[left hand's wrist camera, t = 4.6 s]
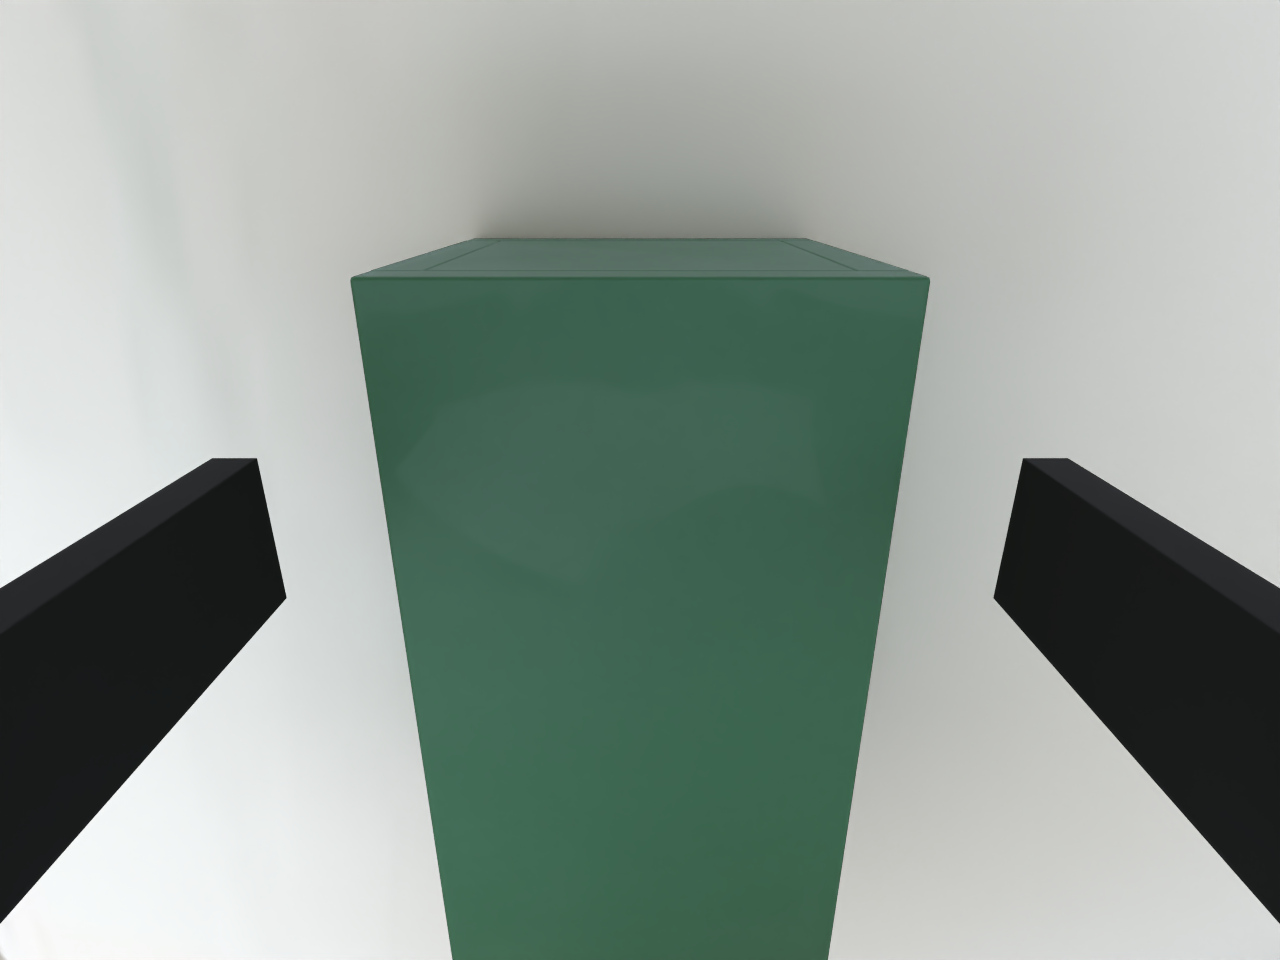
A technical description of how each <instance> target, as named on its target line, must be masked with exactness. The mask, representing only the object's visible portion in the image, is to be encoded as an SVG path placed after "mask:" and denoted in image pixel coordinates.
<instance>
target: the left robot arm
mask: <svg viewBox="0 0 1280 960" xmlns="http://www.w3.org/2000/svg"><path fill="white" fill-rule="evenodd" d="M285 599H286V593H285V588H284V584H283V579H282V574H281V570H280V565H279V560H278V555H277V551H276V546H275V541H274V537H273V532H272V527H271V522H270V518H269V513H268V508H267V504H266V499H265V494H264V490H263V485H262V480H261V475H260V471H259V466H258V461H257V458H212V459H210V460H209V461H207V462H205V463H204V464H202V465H201V466H199V467H197V468H196V469H194V470H192V471H191V472H189V473H188V474H186V475H184V476H183V477H181V478H179V479H178V480H176V481H174V482H173V483H171V484H170V485H168V486H166V487H165V488H163V489H161V490H160V491H158V492H157V493H155V494H153V495H152V496H150V497H148V498H147V499H145V500H144V501H142V502H140V503H139V504H137V505H135V506H134V507H132V508H130V509H129V510H127V511H126V512H124V513H122V514H121V515H119V516H117V517H116V518H114V519H113V520H111V521H109V522H108V523H106V524H104V525H103V526H101V527H100V528H98V529H96V530H95V531H93V532H91V533H90V534H88V535H86V536H85V537H83V538H82V539H80V540H78V541H77V542H75V543H73V544H72V545H70V546H69V547H67V548H65V549H64V550H62V551H60V552H59V553H57V554H56V555H54V556H52V557H51V558H49V559H47V560H46V561H44V562H42V563H41V564H39V565H38V566H36V567H34V568H33V569H31V570H29V571H28V572H26V573H25V574H23V575H21V576H20V577H18V578H16V579H15V580H13V581H12V582H10V583H8V584H7V585H5V586H3V587H2V588H0V923H1V922H2V921H3V920H4V919H5V918H6V917H7V915H8V914H9V913H10V912H11V911H12V910H13V909H14V907H15V906H16V905H17V904H18V903H19V902H20V901H21V899H22V898H23V897H24V896H25V895H26V894H27V893H28V891H29V890H30V889H31V888H32V887H33V886H34V885H35V884H36V882H37V881H38V880H39V879H40V878H41V877H42V876H43V874H44V873H45V872H46V871H47V870H48V869H49V868H50V866H51V865H52V864H53V863H54V862H55V861H56V860H57V858H58V857H59V856H60V855H61V854H62V853H63V852H64V851H65V849H66V848H67V847H68V846H69V845H70V844H71V843H72V841H73V840H74V839H75V838H76V837H77V836H78V835H79V833H80V832H81V831H82V830H83V829H84V828H85V827H86V826H87V824H88V823H89V822H90V821H91V820H92V819H93V818H94V816H95V815H96V814H97V813H98V812H99V811H100V810H101V808H102V807H103V806H104V805H105V804H106V803H107V802H108V800H109V799H110V798H111V797H112V796H113V795H114V794H115V793H116V791H117V790H118V789H119V788H120V787H121V786H122V785H123V783H124V782H125V781H126V780H127V779H128V778H129V777H130V775H131V774H132V773H133V772H134V771H135V770H136V769H137V767H138V766H139V765H140V764H141V763H142V762H143V761H144V760H145V758H146V757H147V756H148V755H149V754H150V753H151V752H152V750H153V749H154V748H155V747H156V746H157V745H158V744H159V742H160V741H161V740H162V739H163V738H164V737H165V736H166V734H167V733H168V732H169V731H170V730H171V729H172V728H173V727H174V725H175V724H176V723H177V722H178V721H179V720H180V719H181V717H182V716H183V715H184V714H185V713H186V712H187V711H188V709H189V708H190V707H191V706H192V705H193V704H194V703H195V702H196V700H197V699H198V698H199V697H200V696H201V695H202V694H203V692H204V691H205V690H206V689H207V688H208V687H209V686H210V684H211V683H212V682H213V681H214V680H215V679H216V678H217V676H218V675H219V674H220V673H221V672H222V671H223V670H224V669H225V667H226V666H227V665H228V664H229V663H230V662H231V661H232V659H233V658H234V657H235V656H236V655H237V654H238V653H239V651H240V650H241V649H242V648H243V647H244V646H245V645H246V643H247V642H248V641H249V640H250V639H251V638H252V637H253V636H254V634H255V633H256V632H257V631H258V630H259V629H260V628H261V626H262V625H263V624H264V623H265V622H266V621H267V620H268V618H269V617H270V616H271V615H272V614H273V613H274V612H275V611H276V609H277V608H278V607H279V606H280V605H281V604H282V603H283V601H284V600H285ZM994 599H995V600H996V601H997V603H998V604H999V605H1000V606H1001V607H1002V608H1003V609H1004V611H1005V612H1006V613H1007V614H1008V615H1009V616H1010V617H1011V618H1012V620H1013V621H1014V622H1015V623H1016V624H1017V625H1018V626H1019V628H1020V629H1021V630H1022V631H1023V632H1024V633H1025V634H1026V636H1027V637H1028V638H1029V639H1030V640H1031V641H1032V642H1033V643H1034V645H1035V646H1036V647H1037V648H1038V649H1039V650H1040V651H1041V653H1042V654H1043V655H1044V656H1045V657H1046V658H1047V659H1048V661H1049V662H1050V663H1051V664H1052V665H1053V666H1054V667H1055V669H1056V670H1057V671H1058V672H1059V673H1060V674H1061V675H1062V676H1063V678H1064V679H1065V680H1066V681H1067V682H1068V683H1069V684H1070V686H1071V687H1072V688H1073V689H1074V690H1075V691H1076V692H1077V694H1078V695H1079V696H1080V697H1081V698H1082V699H1083V700H1084V702H1085V703H1086V704H1087V705H1088V706H1089V707H1090V708H1091V709H1092V711H1093V712H1094V713H1095V714H1096V715H1097V716H1098V717H1099V719H1100V720H1101V721H1102V722H1103V723H1104V724H1105V725H1106V727H1107V728H1108V729H1109V730H1110V731H1111V732H1112V733H1113V734H1114V736H1115V737H1116V738H1117V739H1118V740H1119V741H1120V742H1121V744H1122V745H1123V746H1124V747H1125V748H1126V749H1127V750H1128V752H1129V753H1130V754H1131V755H1132V756H1133V757H1134V758H1135V760H1136V761H1137V762H1138V763H1139V764H1140V765H1141V766H1142V767H1143V769H1144V770H1145V771H1146V772H1147V773H1148V774H1149V775H1150V777H1151V778H1152V779H1153V780H1154V781H1155V782H1156V783H1157V785H1158V786H1159V787H1160V788H1161V789H1162V790H1163V791H1164V793H1165V794H1166V795H1167V796H1168V797H1169V798H1170V799H1171V800H1172V802H1173V803H1174V804H1175V805H1176V806H1177V807H1178V808H1179V810H1180V811H1181V812H1182V813H1183V814H1184V815H1185V816H1186V818H1187V819H1188V820H1189V821H1190V822H1191V823H1192V824H1193V826H1194V827H1195V828H1196V829H1197V830H1198V831H1199V832H1200V833H1201V835H1202V836H1203V837H1204V838H1205V839H1206V840H1207V841H1208V843H1209V844H1210V845H1211V846H1212V847H1213V848H1214V849H1215V851H1216V852H1217V853H1218V854H1219V855H1220V856H1221V857H1222V858H1223V860H1224V861H1225V862H1226V863H1227V864H1228V865H1229V866H1230V868H1231V869H1232V870H1233V871H1234V872H1235V873H1236V874H1237V876H1238V877H1239V878H1240V879H1241V880H1242V881H1243V882H1244V884H1245V885H1246V886H1247V887H1248V888H1249V889H1250V890H1251V891H1252V893H1253V894H1254V895H1255V896H1256V897H1257V898H1258V899H1259V901H1260V902H1261V903H1262V904H1263V905H1264V906H1265V907H1266V909H1267V910H1268V911H1269V912H1270V913H1271V914H1272V915H1273V917H1274V918H1275V919H1276V920H1277V921H1278V922H1279V923H1280V588H1278V587H1277V586H1275V585H1273V584H1272V583H1270V582H1268V581H1267V580H1265V579H1264V578H1262V577H1260V576H1259V575H1257V574H1255V573H1254V572H1252V571H1251V570H1249V569H1247V568H1246V567H1244V566H1242V565H1241V564H1239V563H1238V562H1236V561H1234V560H1233V559H1231V558H1229V557H1228V556H1226V555H1224V554H1223V553H1221V552H1220V551H1218V550H1216V549H1215V548H1213V547H1211V546H1210V545H1208V544H1207V543H1205V542H1203V541H1202V540H1200V539H1198V538H1197V537H1195V536H1194V535H1192V534H1190V533H1189V532H1187V531H1185V530H1184V529H1182V528H1180V527H1179V526H1177V525H1176V524H1174V523H1172V522H1171V521H1169V520H1167V519H1166V518H1164V517H1163V516H1161V515H1159V514H1158V513H1156V512H1154V511H1153V510H1151V509H1150V508H1148V507H1146V506H1145V505H1143V504H1141V503H1140V502H1138V501H1136V500H1135V499H1133V498H1132V497H1130V496H1128V495H1127V494H1125V493H1123V492H1122V491H1120V490H1119V489H1117V488H1115V487H1114V486H1112V485H1110V484H1109V483H1107V482H1106V481H1104V480H1102V479H1101V478H1099V477H1097V476H1096V475H1094V474H1092V473H1091V472H1089V471H1088V470H1086V469H1084V468H1083V467H1081V466H1079V465H1078V464H1076V463H1075V462H1073V461H1071V460H1070V459H1068V458H1023V461H1022V466H1021V471H1020V475H1019V480H1018V485H1017V489H1016V494H1015V499H1014V504H1013V508H1012V513H1011V518H1010V522H1009V527H1008V532H1007V537H1006V541H1005V546H1004V551H1003V555H1002V560H1001V565H1000V570H999V574H998V579H997V584H996V588H995V593H994Z"/></svg>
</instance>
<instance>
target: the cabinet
mask: <svg viewBox="0 0 1280 960" xmlns="http://www.w3.org/2000/svg"><path fill="white" fill-rule="evenodd" d="M929 285H930V279H929V277H926V276H923V275H920V274H917V273H914V272H911V271H908V270H905V269H902V268H899V267H896V266H892V265H889V264H886V263H883V262H880V261H877V260H873V259H870V258H867V257H864V256H861V255H858V254H854V253H851V252H848V251H845V250H842V249H839V248H835V247H832V246H829V245H826V244H823V243H820V242H816V241H812V240H809V239H472V240H469V241H464V242H461V243H458V244H454V245H451V246H448V247H445V248H442V249H438V250H435V251H432V252H429V253H426V254H422V255H419V256H416V257H413V258H410V259H406V260H403V261H400V262H397V263H394V264H390V265H387V266H384V267H381V268H378V269H374V270H371V271H370V272H366V273H363V274H360V275H357V276H354V277H352V278H351V288H352V295H353V301H354V308H355V314H356V321H357V328H358V334H359V341H360V348H361V354H362V361H363V368H364V374H365V381H366V388H367V394H368V401H369V408H370V414H371V421H372V427H373V434H374V441H375V447H376V454H377V461H378V467H379V474H380V481H381V487H382V494H383V501H384V507H385V514H386V520H387V527H388V534H389V540H390V547H391V554H392V560H393V567H394V574H395V580H396V587H397V594H398V600H399V607H400V613H401V620H402V627H403V633H404V640H405V647H406V653H407V660H408V667H409V673H410V680H411V687H412V693H413V700H414V706H415V713H416V720H417V726H418V733H419V740H420V746H421V753H422V760H423V766H424V773H425V780H426V786H427V793H428V800H429V806H430V813H431V819H432V826H433V833H434V839H435V846H436V853H437V859H438V866H439V873H440V879H441V886H442V893H443V899H444V906H445V912H446V919H447V926H448V932H449V939H450V946H451V952H452V959H453V960H828V955H829V948H830V941H831V935H832V928H833V921H834V915H835V908H836V902H837V895H838V888H839V882H840V875H841V868H842V862H843V855H844V848H845V842H846V835H847V829H848V822H849V815H850V809H851V802H852V795H853V789H854V782H855V776H856V769H857V762H858V756H859V749H860V742H861V736H862V729H863V722H864V716H865V709H866V703H867V696H868V689H869V683H870V676H871V669H872V663H873V656H874V650H875V643H876V636H877V630H878V623H879V616H880V610H881V603H882V596H883V590H884V583H885V577H886V570H887V563H888V557H889V550H890V543H891V537H892V530H893V524H894V517H895V510H896V504H897V497H898V490H899V484H900V477H901V470H902V464H903V457H904V451H905V444H906V437H907V431H908V424H909V417H910V411H911V404H912V398H913V391H914V384H915V378H916V371H917V364H918V358H919V351H920V344H921V338H922V331H923V325H924V318H925V311H926V305H927V298H928V291H929Z"/></svg>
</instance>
